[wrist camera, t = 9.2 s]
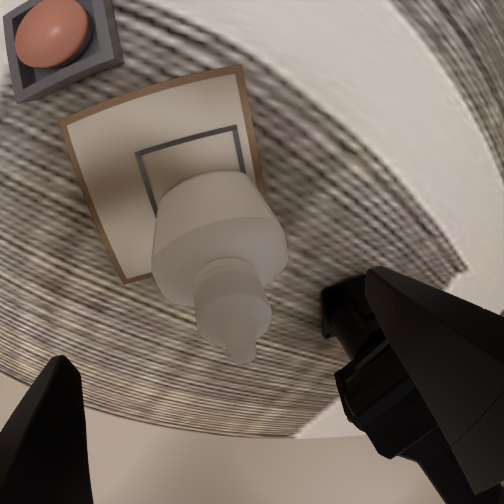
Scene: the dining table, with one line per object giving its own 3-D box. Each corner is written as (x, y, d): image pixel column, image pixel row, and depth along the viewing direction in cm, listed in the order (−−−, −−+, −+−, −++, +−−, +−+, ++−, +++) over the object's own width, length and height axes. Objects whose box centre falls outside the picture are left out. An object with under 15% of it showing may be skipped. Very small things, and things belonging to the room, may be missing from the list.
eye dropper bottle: (167, 156, 16) (146, 284, 6) (259, 174, 18) (359, 302, 8) (155, 224, 18) (141, 394, 8) (241, 237, 20) (302, 394, 10)
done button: (98, 50, 12) (88, 46, 10) (36, 79, 11) (20, 80, 10) (87, -7, 10) (78, -17, 8) (26, 23, 9) (11, 18, 8)
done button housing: (124, 62, 14) (114, 58, 11) (38, 100, 13) (17, 103, 11) (109, -17, 11) (98, -33, 8) (24, 22, 10) (2, 16, 8)
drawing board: (268, 234, 22) (274, 244, 21) (125, 275, 21) (123, 287, 20) (237, 65, 16) (242, 63, 14) (65, 118, 15) (56, 121, 13)
